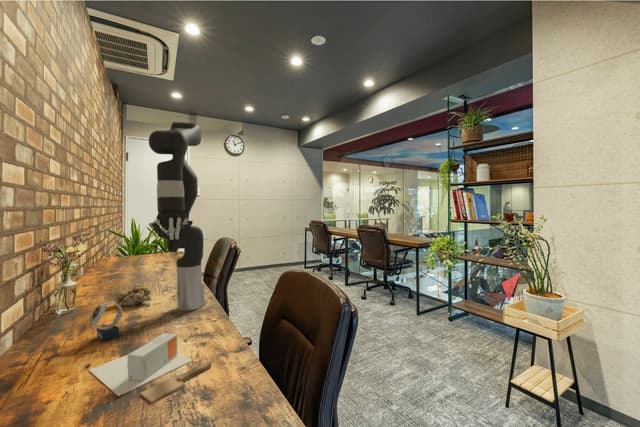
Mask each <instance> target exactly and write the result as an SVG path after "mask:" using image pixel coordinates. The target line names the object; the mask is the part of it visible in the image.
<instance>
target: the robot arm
mask: <svg viewBox="0 0 640 427" xmlns="http://www.w3.org/2000/svg"><path fill="white" fill-rule="evenodd" d="M201 142H202V131H201V127H200V126H199V125H198V124H197V123H195V122H185V121H183V122H181V121H174V122H172V124H171V125H170V129H168V130H161V129H160V130H157V129H156V130H154V131H152V132H151V133H150V134H149V136H148V146H149V148H150V150H151V151H153V152H154V153H155V154H158V155H172V156H171V157H172V159H169V160H165V161H161V162H158V163H157V165H156V176H157V184H156V202H157V216H156V219H155V220H154V221H153V222H149V224H148V226H149V228H151V229H152V231H153V232H155V233H156V235H157V236H158V237H159V238H160V239H163V240H166V249H167V251H168V252H169V253H176V252H178V250H179V249H183V250H184V251H183V256H181V257H179V258H178V259H176V284H177V286H176V287H177V289H176V290H177V310H178V311H181V312H182V311H183V312H184V311H185V312H186V311H188V312H189V311H194V310H197V309H200V308H202V307H203V306H205V305H206V304H205V303H206V301H205V282H203V276H202V275H203V273H202V272H203V271H202V261H203V258H204V257H203V256H204V233H203V231H202V229H201V228H200V227H199V226H195V225H193V220H190V213H191V210H192V207H193V205H195V201H196V199H197V197H198V193H199V192H198V190H199V188H198V187H199V186H198V177H197V175H196V173H195V171H194V170H193V168H192V167H191V165H189V163H188V161H187V159H186V155H187V151H188V147H196V146H199V145H200V144H201ZM161 226H162V227H161ZM162 228H163V229H162Z"/></svg>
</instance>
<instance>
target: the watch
mask: <svg viewBox="0 0 640 427" xmlns="http://www.w3.org/2000/svg"><path fill="white" fill-rule="evenodd" d="M109 305H117V306H116V307H117V308H118V310H117V312H116V316H115V318H114V319H113V321H112V323H110V324H106V325H103V326H98V325H97V324H98V322H99V321H100V320H101V319H102V317H103V316H104V314H105V310H106V309H107V307H108V306H109ZM123 313H124V312H123V307H122V306H120V305H118V304H117V303H116V302H115V301H114V302H113V301H106V302H103V303H101V304H99V305H97V306H96V307H95V308H94V310H92V313H91V317H90V322H91V324H92V325H93V326H94V327H95V328H96V338H97V340H99V341H100V342H101V343H106V342H109V341H113V340H115V339H119V338H120V328H119V326H117V325H118V323H119V322H120V321H121V319H122V317H123Z"/></svg>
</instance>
